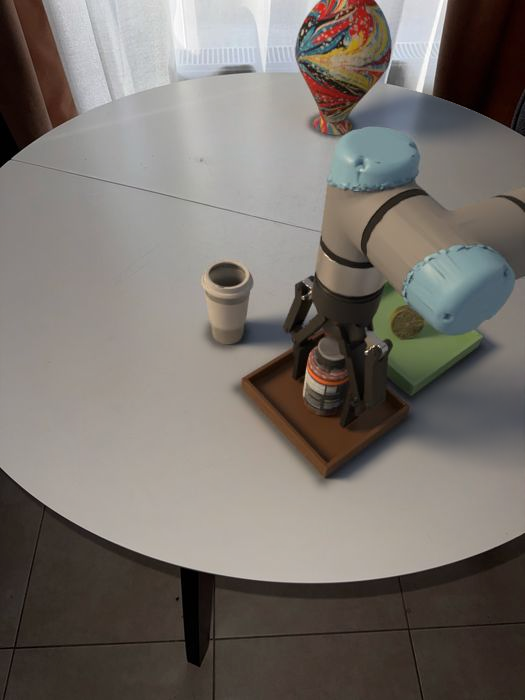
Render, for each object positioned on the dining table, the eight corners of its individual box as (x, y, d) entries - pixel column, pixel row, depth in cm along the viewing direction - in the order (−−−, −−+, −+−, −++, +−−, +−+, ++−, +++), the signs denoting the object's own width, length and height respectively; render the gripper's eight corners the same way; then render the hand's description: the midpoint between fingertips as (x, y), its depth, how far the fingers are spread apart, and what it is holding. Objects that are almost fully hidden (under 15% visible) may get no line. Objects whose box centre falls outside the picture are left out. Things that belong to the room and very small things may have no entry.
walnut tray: (407, 416, 79) (411, 406, 77) (324, 478, 72) (327, 469, 70) (322, 339, 87) (324, 328, 85) (241, 388, 80) (241, 378, 79)
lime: (424, 333, 88) (432, 311, 84) (401, 348, 86) (409, 325, 82) (402, 316, 90) (410, 293, 86) (380, 329, 88) (387, 306, 84)
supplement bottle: (328, 375, 82) (340, 321, 73) (354, 406, 79) (369, 354, 70) (293, 392, 80) (300, 339, 71) (317, 425, 76) (328, 373, 68)
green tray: (478, 346, 87) (483, 336, 85) (410, 396, 81) (414, 386, 79) (394, 282, 95) (397, 271, 94) (326, 322, 89) (328, 312, 87)
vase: (284, 143, 121) (296, -19, 98) (293, 99, 133) (306, -54, 110) (375, 153, 120) (409, -9, 97) (376, 108, 132) (406, -45, 109)
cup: (197, 343, 85) (193, 284, 76) (212, 312, 89) (210, 252, 80) (244, 354, 84) (245, 296, 75) (256, 322, 88) (259, 263, 79)
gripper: (452, 320, 58) (401, 437, 75) (309, 210, 68) (293, 336, 85) (401, 355, 54) (360, 469, 72) (259, 234, 65) (253, 360, 82)
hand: (324, 397), depth 79 cm, fingers open, 9 cm apart
